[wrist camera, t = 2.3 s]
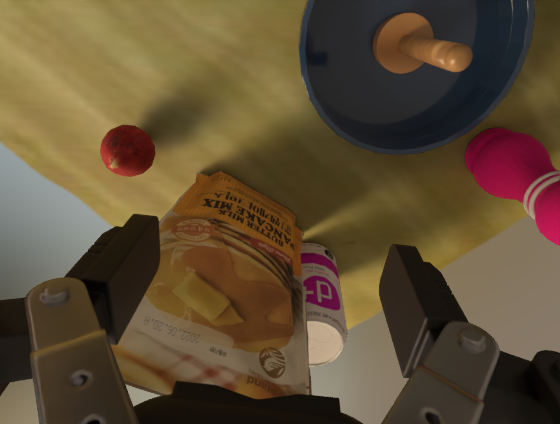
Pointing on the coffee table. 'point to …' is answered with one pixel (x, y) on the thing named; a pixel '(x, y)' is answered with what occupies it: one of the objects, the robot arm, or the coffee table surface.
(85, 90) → the coffee table surface
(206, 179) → the pancake mix bag
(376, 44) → the wooden disc peg
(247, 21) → the coffee table surface
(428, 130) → the bowl
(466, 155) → the pepper mill
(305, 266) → the supplement can
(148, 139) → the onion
